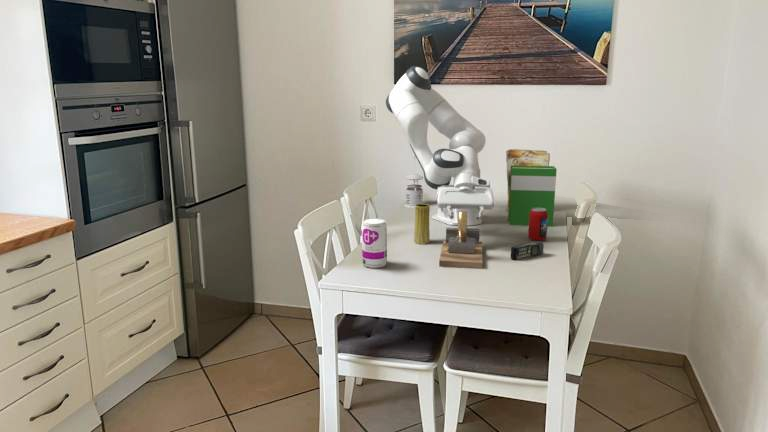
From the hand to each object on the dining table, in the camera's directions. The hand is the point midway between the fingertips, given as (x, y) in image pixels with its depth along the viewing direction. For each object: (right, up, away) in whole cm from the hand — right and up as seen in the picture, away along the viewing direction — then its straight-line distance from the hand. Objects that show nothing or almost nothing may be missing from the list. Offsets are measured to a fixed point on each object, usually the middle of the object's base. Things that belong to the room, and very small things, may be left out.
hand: (464, 218), depth 205 cm
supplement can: (-32, -16, -12) cm, 38 cm away
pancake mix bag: (+36, +3, +60) cm, 70 cm away
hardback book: (+33, -3, +38) cm, 50 cm away
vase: (-14, -9, +13) cm, 21 cm away
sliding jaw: (-2, -11, -5) cm, 12 cm away
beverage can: (+30, -9, +15) cm, 34 cm away
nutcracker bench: (-2, -14, -5) cm, 15 cm away
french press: (-14, +6, +72) cm, 73 cm away
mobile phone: (+21, -14, -4) cm, 26 cm away
